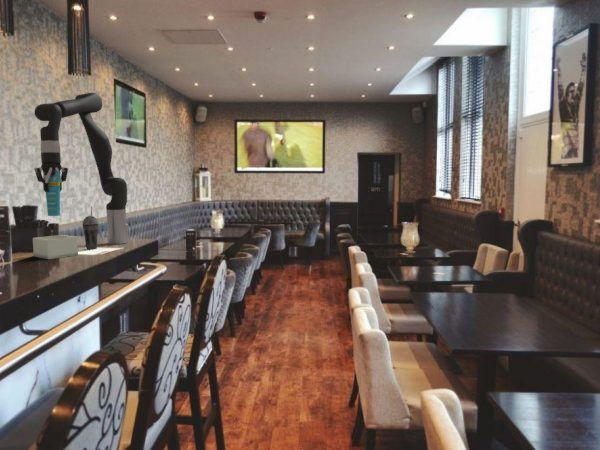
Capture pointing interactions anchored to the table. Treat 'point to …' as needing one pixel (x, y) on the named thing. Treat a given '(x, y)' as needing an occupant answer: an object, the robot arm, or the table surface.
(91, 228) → the beverage cup
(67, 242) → the bin
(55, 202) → the tube
